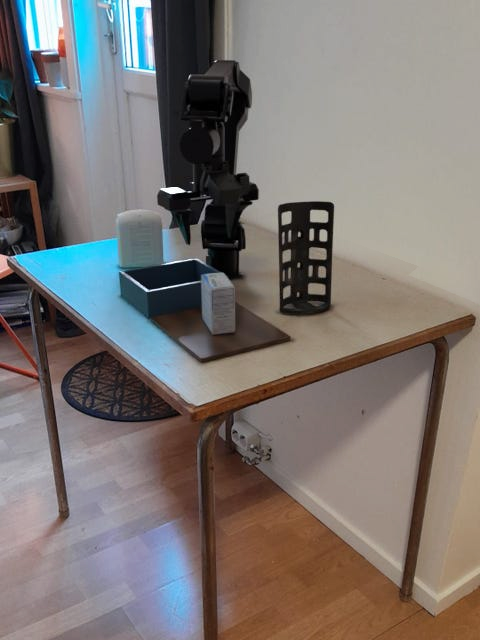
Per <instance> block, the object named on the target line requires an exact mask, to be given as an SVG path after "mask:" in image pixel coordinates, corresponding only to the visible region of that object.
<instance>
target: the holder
mask: <svg viewBox="0 0 480 640" xmlns="http://www.w3.org/2000/svg"><path fill="white" fill-rule="evenodd" d="M311 211H325V212H326V213H327V221H326V222H320V221H311ZM288 212H291V214H290V215H291V216H290V222H289V223H285V224H283V214H285V213H288ZM334 224H335V203H333V202H331V201H323V200H321V201H320V200H318V201H317V200H314V201H313V200H312V201H310V200H309V201H294V202H285V203H281V204H279V205H278V206H277V229H278V230H277V231H278V234H277V235H278V236H277V237H278V276H279V278H278V279H279V284H278V285H279V286H278V287H279V313H281V314H284V315H285V314H286V315H290V314H297V315H298V314H309V313H311V314H315V313H321V312H326V311H327V310H329V309H330V308H331V307H332V276H333V272H332V271H333V248H334V247H333V246H334ZM311 230H313V239H312V240H310V239H311V238H310V237H311V234H310V233H311ZM322 230H323V231H326V240H325V241H324V240H321V238H320V237H321V236H320V234H321V231H322ZM283 233H284V234H283ZM289 234H290V235H289ZM299 235H300V236H299ZM283 236H284V237H283ZM289 237H290V240H289ZM283 238H284V240H283ZM283 241H284V242H283ZM311 248H315V249H323V250H325V252H326V253H325V254H326V256H325V257H326V258H325V259H321V258H310V249H311ZM288 250H290V260H287V261H284V259H283V253H284V252H285V251H288ZM298 264H299V265H298ZM311 266H312V273H311V275H310V267H311ZM320 267H322V268H325V277H323V276H322V277H321V276H319V268H320ZM289 271H290V274H289ZM289 275H290V276H289ZM310 284H319V285H324V289H325V290H324V294H320V293H309V285H310ZM287 287H289V288H290V289H289V291H290V292H289V296H286V297H284V289H286V288H287ZM310 302H317V303H321V304H319V305H314V304H312V303H310ZM290 304H292V305H293V306H294V308H293V307H292V308H291V307H290V308H289V307H286V306H288V305H290Z"/></svg>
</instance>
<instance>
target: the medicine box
mask: <svg viewBox="0 0 480 640" xmlns="http://www.w3.org/2000/svg"><path fill="white" fill-rule="evenodd" d="M201 293H202V318H203V320H204V322H205V323H206V325H207V326H208V328H209V330H210V331H211V333H212V335H215V334H225V333H234V332H235V302H236V287H235V285H234V284H233V282H232V281H231V279H228V278H227V276H226V275H225V274H224V273H210V274H204V275H201Z"/></svg>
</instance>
